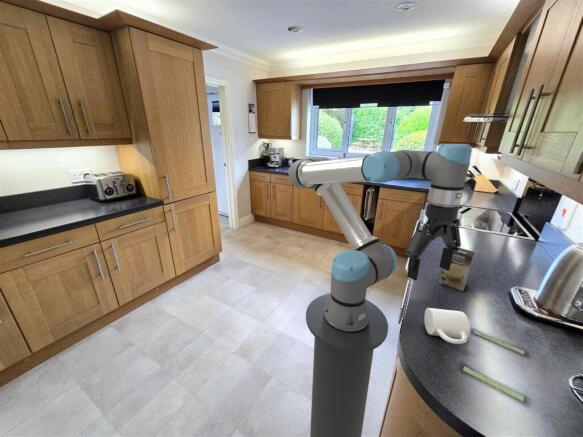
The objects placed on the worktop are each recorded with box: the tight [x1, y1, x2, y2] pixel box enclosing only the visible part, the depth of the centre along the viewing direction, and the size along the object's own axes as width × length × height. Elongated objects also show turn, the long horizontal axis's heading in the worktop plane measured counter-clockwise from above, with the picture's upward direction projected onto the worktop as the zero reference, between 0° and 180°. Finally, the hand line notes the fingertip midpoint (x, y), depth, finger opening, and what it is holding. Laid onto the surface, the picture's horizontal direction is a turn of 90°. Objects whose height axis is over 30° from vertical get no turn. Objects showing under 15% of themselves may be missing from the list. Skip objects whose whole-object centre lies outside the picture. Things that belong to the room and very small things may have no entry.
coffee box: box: [438, 247, 476, 292], centre depth 101 cm, size 9×6×16 cm
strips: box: [462, 329, 525, 402], centre depth 68 cm, size 12×20×1 cm, turn 137°
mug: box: [423, 307, 471, 345], centre depth 74 cm, size 12×10×8 cm
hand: (428, 273), depth 72 cm, fingers open, 13 cm apart
